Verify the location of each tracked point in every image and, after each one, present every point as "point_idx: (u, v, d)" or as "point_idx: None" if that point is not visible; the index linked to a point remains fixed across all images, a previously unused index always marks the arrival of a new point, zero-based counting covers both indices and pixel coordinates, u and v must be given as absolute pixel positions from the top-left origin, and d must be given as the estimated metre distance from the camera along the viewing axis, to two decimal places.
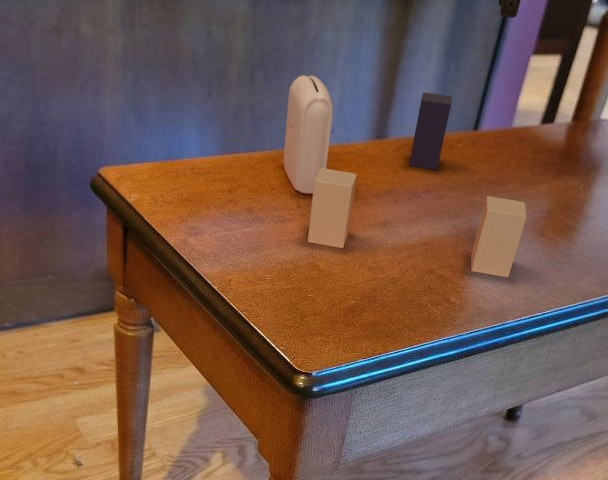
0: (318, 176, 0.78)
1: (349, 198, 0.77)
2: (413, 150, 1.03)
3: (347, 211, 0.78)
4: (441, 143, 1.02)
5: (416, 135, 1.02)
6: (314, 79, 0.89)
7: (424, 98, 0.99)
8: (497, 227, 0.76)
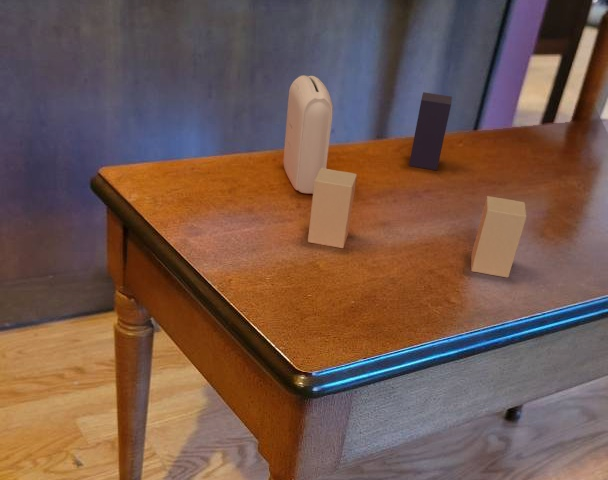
0: (318, 176, 0.78)
1: (349, 198, 0.77)
2: (413, 150, 1.03)
3: (347, 211, 0.78)
4: (441, 143, 1.02)
5: (416, 135, 1.02)
6: (314, 79, 0.89)
7: (424, 98, 0.99)
8: (497, 227, 0.76)
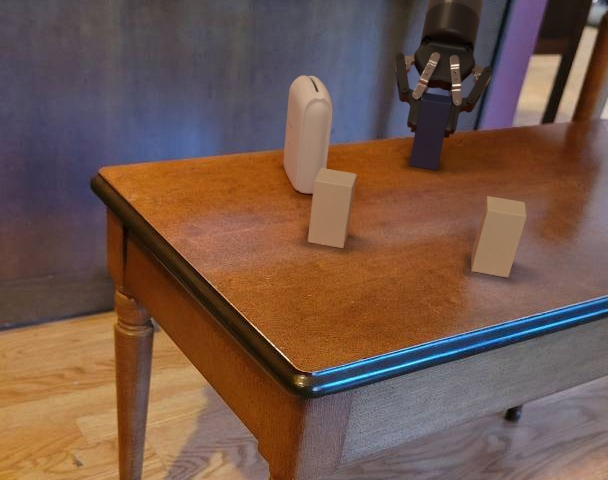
0: (318, 176, 0.78)
1: (349, 198, 0.77)
2: (413, 150, 1.03)
3: (347, 211, 0.78)
4: (441, 143, 1.02)
5: (416, 135, 1.02)
6: (314, 79, 0.89)
7: (424, 98, 0.99)
8: (497, 227, 0.76)
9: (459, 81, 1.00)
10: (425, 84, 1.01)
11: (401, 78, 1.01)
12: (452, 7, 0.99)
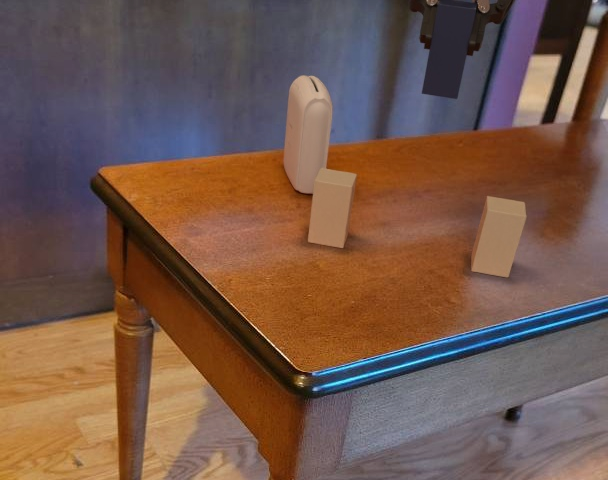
0: (318, 176, 0.78)
1: (349, 198, 0.77)
2: (427, 72, 0.81)
3: (347, 211, 0.78)
4: (463, 62, 0.80)
5: (431, 52, 0.80)
6: (314, 79, 0.89)
7: (441, 3, 0.78)
8: (497, 227, 0.76)
9: None
10: None
11: None
12: None
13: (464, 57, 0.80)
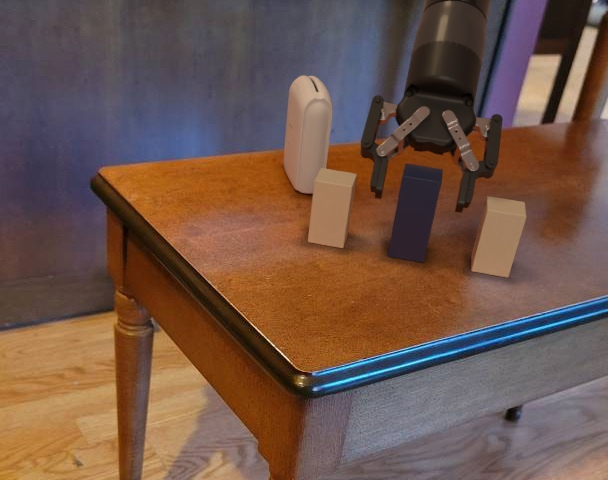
0: (318, 176, 0.78)
1: (349, 198, 0.77)
2: (393, 238, 0.79)
3: (347, 211, 0.78)
4: (429, 230, 0.78)
5: (396, 219, 0.78)
6: (314, 79, 0.89)
7: (406, 173, 0.76)
8: (497, 227, 0.76)
9: (466, 140, 0.76)
10: (397, 141, 0.77)
11: (368, 127, 0.77)
12: (445, 48, 0.75)
13: (430, 225, 0.77)
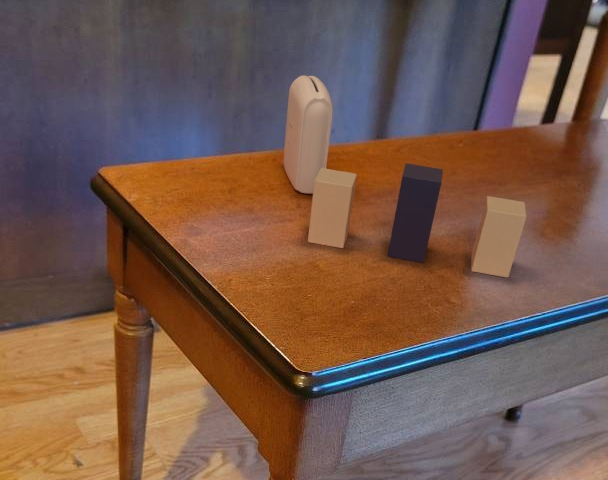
0: (318, 176, 0.78)
1: (349, 198, 0.77)
2: (393, 238, 0.79)
3: (347, 211, 0.78)
4: (429, 230, 0.78)
5: (396, 219, 0.78)
6: (314, 79, 0.89)
7: (406, 173, 0.76)
8: (497, 227, 0.76)
9: None
10: None
11: None
12: None
13: (430, 225, 0.77)
